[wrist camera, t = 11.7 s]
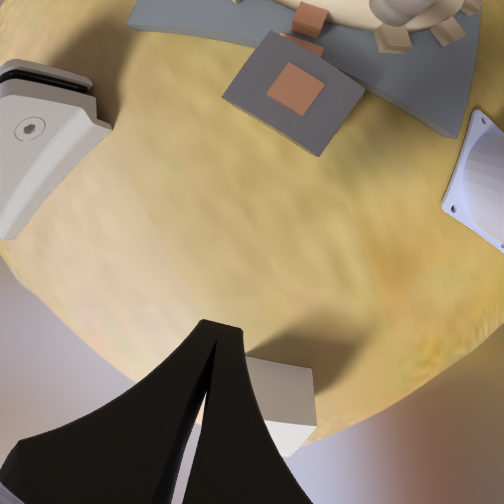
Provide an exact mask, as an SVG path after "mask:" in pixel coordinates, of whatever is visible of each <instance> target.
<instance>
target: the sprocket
mask: <svg viewBox="0 0 504 504" xmlns="http://www.w3.org/2000/svg"><path fill="white" fill-rule="evenodd" d="M232 1H233V2H235V3H236V4H237V3H238V2H240V1H241V0H232ZM271 1H273V2H275V3H277V4H279V5H282V6H284V7H286V8H288V9H291V10H293V11H296V13H295V15H294V18H293V20H292V28H291V31H294V32H297V33H300V34H303V35H306V36H309V37H312V38H315V39H317V38H318V35H319V33H320V31H321V28H322V26H323V23H324V21H325V22H328V23H331V24H335V25H339V26H343V27H347V28H352V29H357V30H362V31H367V32H373V33H374V36H375V39H376V43H377V46H378V50H379V53H393V54H402V53H404V52H406V51H408V50H409V49H411V48H413V47H412V44H411V41H410V38H409V34H408V33H416V32H421V31H425V30H428V29H430V31H431V32H432V33H433V34H434V36H435V37H436V38H437V40H438V41H439V42H440V44H441V45H442V46H443V47H444V46H446V45H449V44H451V43H454V42H456V41H458V40H459V39H461V38H463V37H464V36H466V34H465V32H464V31H463V29H462V28H461V27H460V25H459V24H458V23H457V21H456V20H455V19H454V18H453V16H454V15H455V14H456V13H457V12H458V11H459V10H461V11H462V12H463V13H465V14H466V15H467V16H468V17H469V16H471V15H473V14H476V13H478V12H480V7H481V0H271Z"/></svg>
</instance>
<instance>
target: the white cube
mask: <svg viewBox="0 0 504 504" xmlns="http://www.w3.org/2000/svg"><path fill="white" fill-rule="evenodd" d="M245 357H246V363H247V368H248V372H249V376H250V380H251V384H252V387H253V391H254V394H255V397H256V400H257V403H258V406H259V409H260V411H261V414H262V417H263V419H264V422H265V424H266V426H267V428H268V431H269V433H270V435H271V437H272V439H273V441H274V443H275V445H276V447H277V449H278V451H279V453H280V455H281V457H290V456H291V455H292V454H293V453H294V452H295V451H296V449H297V448H298V447H299V446H300V445H301V444H302V443H303V442H304V441H305V440H306V438H307V437H308V436H309V435H310V434H311V433H312V431H313V430H314V429H315V428H316V427H317V421H316V409H315V397H314V386H313V376H312V369H311V368H305V367H299V366H293V365H287V364H282V363H277V362H272V361H267V360H262V359H257V358H253V357H248V356H245Z"/></svg>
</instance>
